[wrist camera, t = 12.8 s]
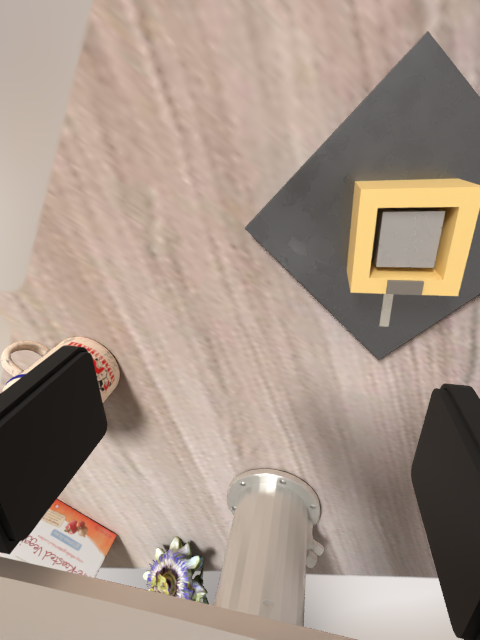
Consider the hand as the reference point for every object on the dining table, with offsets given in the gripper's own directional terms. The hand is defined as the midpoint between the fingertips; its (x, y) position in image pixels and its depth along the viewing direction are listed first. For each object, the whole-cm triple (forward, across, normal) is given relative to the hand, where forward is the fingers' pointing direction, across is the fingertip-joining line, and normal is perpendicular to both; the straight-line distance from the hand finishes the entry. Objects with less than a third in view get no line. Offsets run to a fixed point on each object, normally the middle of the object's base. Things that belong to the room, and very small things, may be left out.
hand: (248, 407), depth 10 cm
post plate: (+25, -8, -1) cm, 26 cm away
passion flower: (+27, +15, +55) cm, 63 cm away
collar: (+24, -8, 0) cm, 25 cm away
